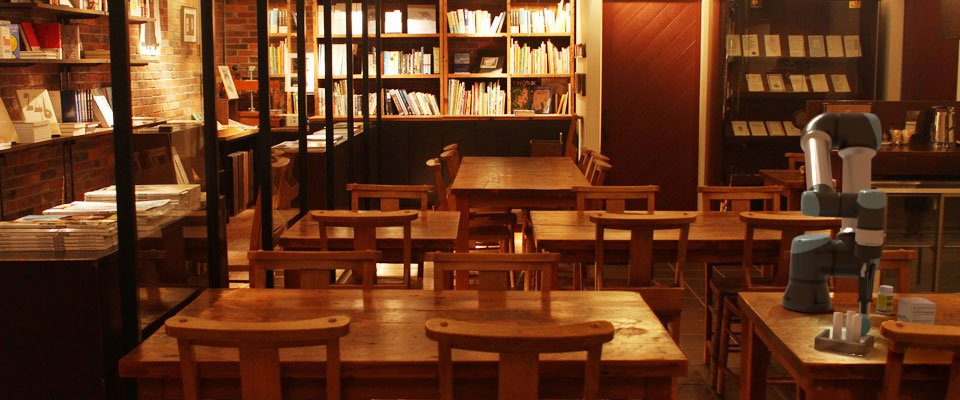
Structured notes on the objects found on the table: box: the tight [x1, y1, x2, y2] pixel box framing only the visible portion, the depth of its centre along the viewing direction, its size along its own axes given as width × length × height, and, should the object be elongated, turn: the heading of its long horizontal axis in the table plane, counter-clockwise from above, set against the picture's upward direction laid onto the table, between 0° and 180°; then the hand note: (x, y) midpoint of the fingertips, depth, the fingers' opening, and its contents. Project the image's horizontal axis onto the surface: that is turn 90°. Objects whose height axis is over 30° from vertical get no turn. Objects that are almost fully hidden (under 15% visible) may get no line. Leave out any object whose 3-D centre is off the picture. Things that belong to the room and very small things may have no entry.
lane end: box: [813, 328, 876, 357], centre depth 283 cm, size 13×12×3 cm
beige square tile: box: [841, 330, 879, 343], centre depth 294 cm, size 10×10×1 cm
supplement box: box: [896, 296, 937, 326], centre depth 288 cm, size 7×7×13 cm
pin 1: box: [831, 311, 844, 340], centre depth 286 cm, size 2×2×9 cm
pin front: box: [844, 310, 857, 342], centre depth 288 cm, size 2×2×9 cm
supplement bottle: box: [876, 285, 895, 315], centre depth 325 cm, size 5×5×8 cm
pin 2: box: [851, 314, 862, 343], centre depth 283 cm, size 2×2×9 cm
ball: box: [861, 315, 872, 336], centre depth 296 cm, size 6×6×6 cm
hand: (863, 324), depth 300 cm, fingers closed
